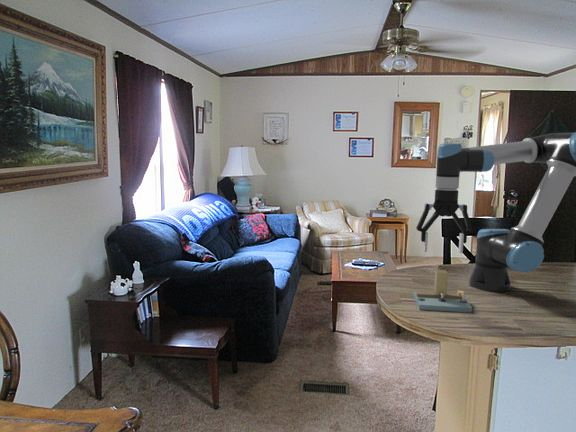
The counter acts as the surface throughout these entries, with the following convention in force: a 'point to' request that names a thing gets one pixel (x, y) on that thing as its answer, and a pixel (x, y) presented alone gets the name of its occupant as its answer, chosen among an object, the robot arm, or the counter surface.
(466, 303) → the board
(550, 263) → the counter surface
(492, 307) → the counter surface
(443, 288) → the block
